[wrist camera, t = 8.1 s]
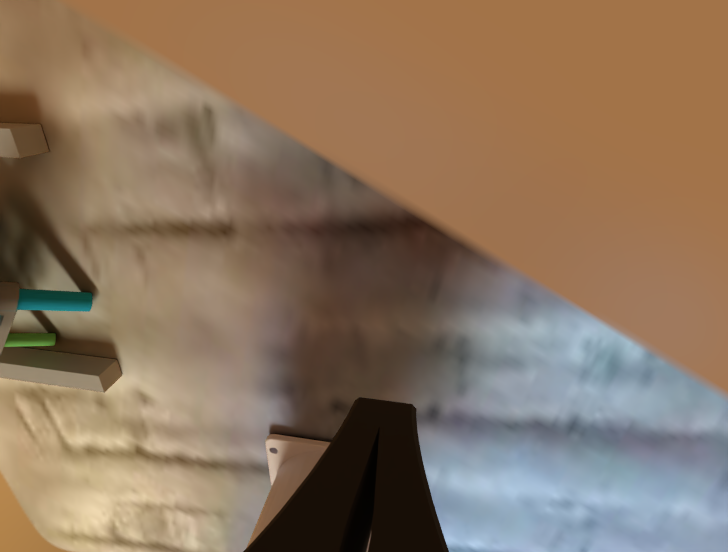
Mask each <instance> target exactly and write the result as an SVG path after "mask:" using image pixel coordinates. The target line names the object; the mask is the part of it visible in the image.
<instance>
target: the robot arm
mask: <svg viewBox="0 0 728 552" xmlns="http://www.w3.org/2000/svg"><path fill="white" fill-rule="evenodd" d="M265 444H266V451H267V459H268V466H269V473H270V480H271V490H270V492H269V495H268V497H267V500H266V502H265V504H264V507H263V509H262V512H261V514H260V517H259V519H258V522H257V524H256V526H255V529H254V531H253V534H252V536H251V539H250V541H249V543H248V546H247V548H246V549H245V551H244V552H449V551H448V548H447V545H446V542H445V539H444V536H443V533H442V530H441V527H440V523H439V520H438V517H437V514H436V511H435V507H434V504H433V500H432V497H431V493H430V489H429V485H428V481H427V478H426V474H425V470H424V465H423V461H422V456H421V451H420V445H419V440H418V433H417V423H416V408H415V407H414V406H413V405H412V404H406V403H398V402H391V401H383V400H376V399H368V398H358V399H357V400H355V402H354V404H353V406H352V408H351V410H350V412H349V413H348V415H347V417H346V419H345V421H344V422H343V424H342V426H341V427H340V429H339V430H338V432H337V434H336V435H335V437H334V438H333V440H332V441H331V442H324V441H318V440H311V439H304V438H297V437H291V436H284V435H277V434H271V435H269V436H268V437H267V439H266V442H265Z"/></svg>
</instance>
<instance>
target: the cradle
mask: <svg viewBox="0 0 728 552" xmlns="http://www.w3.org/2000/svg"><path fill="white" fill-rule="evenodd" d="M46 152H49V149H48V146H47V143H46V140H45V137H44V133H43V130H42V127H41V124H21V123H0V157H8V158H23V157H28V156H32V155H37V154H41V153H46ZM121 376H122V374H121V371H120V367H119V364H118V361H117V359H109V358H101V357H93V356H86V355H78V354H70V353H62V352H54V351H47V350H39V349H31V348H23V347H3V350H2V353H1V355H0V378H6V379H13V380H20V381H27V382H34V383H41V384H48V385H55V386H62V387H69V388H76V389H83V390H90V391H97V392H105V391H106V390H107V389H109V388H110V387H111V386H112V385H113V384H114V383H115V382H116V381H117V380H118V379H119V378H120V377H121Z"/></svg>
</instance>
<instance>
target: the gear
mask: <svg viewBox="0 0 728 552" xmlns="http://www.w3.org/2000/svg"><path fill="white" fill-rule="evenodd" d="M91 307H92V293H87V292H69V291H50V290H32V289H19V283H18V282H2V281H0V355H1V353H2V350H3V347H18V346H54V345H55V341H56V334H55V333H9V331H10V328H11V326H12V323H13V320H14V317H15V315H16V312H17V310H52V311H90V310H91Z"/></svg>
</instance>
